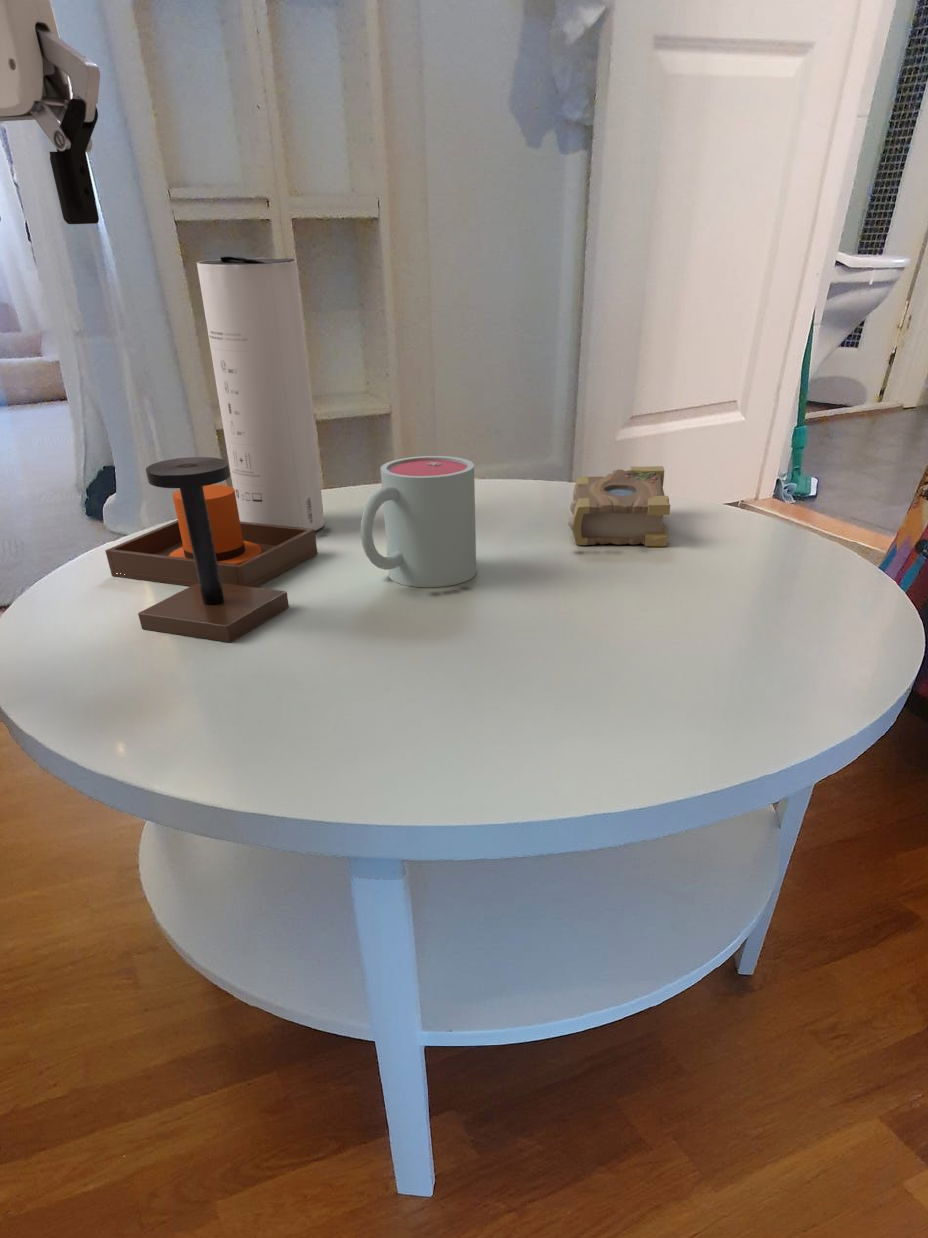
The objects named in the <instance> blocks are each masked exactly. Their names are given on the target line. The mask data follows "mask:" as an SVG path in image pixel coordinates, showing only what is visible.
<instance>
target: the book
mask: <svg viewBox="0 0 928 1238" xmlns="http://www.w3.org/2000/svg"><path fill="white" fill-rule="evenodd" d="M664 480H665V468H664V466H663V465H658V466H657V465H656V466H655V465H654V466H652V465H651V466H630V470H624V469H616V470H615V469H614V470H613V471H612V473H608V474H606V475H605V476H589V475H582V476H579V475H578V477H577V479H576V482H575V484H574V488H573V492H572V493H573V494H572V502H570V506H569V510H570V512H571V513H572V516H571V517H570V518H569V519H568V521H567V525H568V527H569V529H570V530H571V531H572V534H573V537H574V541H575V544H576V546H587V545H588V546H589V545H592V546H593V545H596V544H599V545H607V544H612V545H627V544H629V545H640V544H641V545H644V547H667V544H668V533H667V529H666V527H665V526H663V523H664V516H670V515H671V504H670V497H669V495H665V491H664Z"/></svg>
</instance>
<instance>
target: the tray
mask: <svg viewBox="0 0 928 1238" xmlns="http://www.w3.org/2000/svg"><path fill="white" fill-rule="evenodd" d="M240 524H241V530H242V536H243V541H248V542H252V543H255V544H257V545H259V546H260V547H261V549H262V553H261V554H259V555H257V556H256V557H254V558H252V559H250V560H248V561H246V562H244V563H242V564H240V565H239V564H230V563H222V562H217V564H218V569H219V574H220V580H221V583H225V584H233V585H241V586H248V587H256V588H259V587H260V586H262V585H264V584H265V583H267V582H269V581H271V580H273V579H274V578H276V577H278V576H280V575H282V574H285V572H287V571H289V570H291V569H293V568H294V567H296V566H299V565H300V564H302V563H303V562H305V561H307V560H309V559H311V558H313V557H314V556H316V555H318V554H319V553H318V545H317V538H316V531H315V530H314V529H309V528H300V527H290V526H280V525H271V524H261V523H251V522H241V521H240ZM181 547H183V543H182V538H181V533H180V529H179V524H178V519H177V520H174V521H172V522H169V523H167V524H164V525H162V526H160V527H157V528H155V529H153V530H150V531H148V532H146V533H143V534H141V535H138V536H135V537H133V538H131V539H129V540H126V541H124V542H121V543H119V544H116V545H114V546H112V547H110V548H107V549H105V555H106V560H107V563H108V566H109V570H110V574H111V576H112V577H118V578H126V579H127V578H128V579H134V580H139V581H140V580H141V581H147V582H148V581H149V582H156V583H163V584H171V585H178V586H185V587H191V586H193V585H195V584H196V583H198V582H199V580H198V576H197V571H196V566H195V561H194V559H189V558H180V557H172V556H169V555H170V553H172V552H173V551H174V550H176V549H178V548H181ZM116 573H118V574H116ZM120 573H121V574H120ZM124 574H125V575H124Z"/></svg>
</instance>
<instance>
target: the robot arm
mask: <svg viewBox="0 0 928 1238" xmlns="http://www.w3.org/2000/svg"><path fill="white" fill-rule="evenodd" d="M100 82H101V71H100V68H99V66H98V65H97V64H96V63H95V62H94V61H93V60H91V59H89V57H87V56H85V55H83V54H82V53H81V52H80V51H78V50H77V49H75V48H74V47H72V46H71V45H70V44H68V43H67V42H65V41H64V40H63V39H61V35H60V32H59V28H58V24H57V20H56V17H55V12H54V8H53V5H52V1H51V0H0V122H15V121H16V122H17V121H32V120H33V121H34V120H35V121H36V122H37V124H38V125H39V127H40V128H41V130H42V131H43V132H44V133H45V135H46V136H47V138H48V139H49V141H50V142H51V144H52V145H53V146H54V147H55V148H56V151H49V161H50V165H51V169H52V170H51V171H52V174H53V179H54V184H55V187H56V193H57V196H58V201H59V205H60V209H61V215H62V218H63V220H64V222H65V223H66V224H67V225H91V224H93V225H94V224H98V223H99V222H100V216H99V212H98V207H97V201H96V195H95V191H94V185H93V181H92V175H91V171H90V167H89V161H88V157H87V154H88V153H90V152H91V151H92V149H93V140H92V135H93V132H94V131H95V127H96V124H97V122H98V119H99V111H98V108H97V104H98V102H99V93H100ZM70 83H71V84H70ZM70 85H71V86H70ZM1 220H2V218H1V216H0V222H1Z"/></svg>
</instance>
